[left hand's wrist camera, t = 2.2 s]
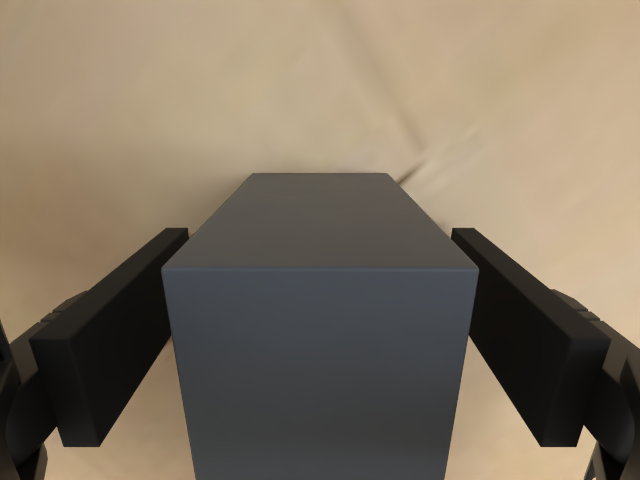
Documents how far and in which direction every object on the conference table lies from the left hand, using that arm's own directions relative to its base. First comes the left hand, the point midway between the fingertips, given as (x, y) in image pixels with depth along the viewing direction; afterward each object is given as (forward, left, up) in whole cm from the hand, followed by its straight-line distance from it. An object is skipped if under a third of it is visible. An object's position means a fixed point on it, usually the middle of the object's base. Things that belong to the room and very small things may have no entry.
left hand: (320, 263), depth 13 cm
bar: (+8, 0, -1) cm, 8 cm away
